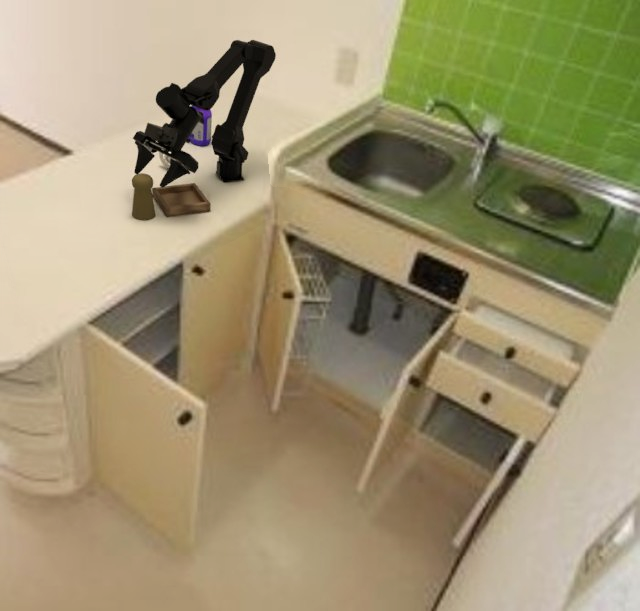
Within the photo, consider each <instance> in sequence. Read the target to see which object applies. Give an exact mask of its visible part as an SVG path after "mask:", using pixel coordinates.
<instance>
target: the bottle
mask: <svg viewBox="0 0 640 611" xmlns="http://www.w3.org/2000/svg"><path fill="white" fill-rule="evenodd" d="M190 106H191V107H194V108H195V109H196V110H197V111H199V112H202V113H203V117H204V124H201V123H199V122H198V123H197V125H196V127H195V128H194V130H193V131H192V133H191V135H190V136H189V139H190V140H191V141H190V143H191V144H194V145H197V146H200V147H202V146H203V147H204V146H208V145H209V144H210V143H211V142H212V123H213V122H212V118H213V112H212V110H211V109H210V110H208V111H207V110H202V109H200V108H197V107H195V106H192V105H190Z"/></svg>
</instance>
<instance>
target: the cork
mask: <svg viewBox="0 0 640 611" xmlns="http://www.w3.org/2000/svg"><path fill="white" fill-rule="evenodd" d="M131 178H132V179H131V185H132V188H134V189H133V200H132V206H131V208H132V210H131V216H132V218H133V219H135V220H138V221H142V222H143V221H144V222H146V221H151V220H153V219H154V218H156V216H157V214H156V208H155V204H154V198H153V196H152V188H154V187H153V186H154V180H153V177H152V176H151V175H150V174H148V173H141V172H140V173H139V174H134V175H133V176H132V177H131Z"/></svg>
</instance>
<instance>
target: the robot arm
mask: <svg viewBox="0 0 640 611" xmlns="http://www.w3.org/2000/svg"><path fill="white" fill-rule="evenodd" d="M229 46H230V47H229V48H228V49H227V50H226V51H225V52H224V54H223V55H222V56H221V57H220V58H219V59H218V60H217V62H215V64H214V65H213V66H212V67H211V68H210V69H209V70H208V71H207V72H206V73H205V74H203V75H199V76H197V77H195V78H193V79H192V80H191V81H190V82H188V83H187V85H186V86H184V87H182V88H181V87H180V86H179V84H176V83H175V82H171V83H170V84H169V86H165V87H163V88H162V89H160V90H159V91H157V94H156V96H155V102H156V105H157V106H158V107H159V108H160V109H161V110H162V111H163V112H164V113H165V114H166V116H168V118H170V119H171V121H170V122H169V123H167V122H165V123H164V124H163V125H162V126H160V125H157V124H153V123H151V122H147V123H146V126H145V129H144V131H142V130H139V131H136V132H135V134H134V135H133V136H132V139H133V140H134V144H135V145H136V148H137V157H136V162H135V165H134V175H136V174H141V172H142V171H143V170H145V168H146V166H147V165H149V163H150V162H151V161H152V160H153V159H154V158H155V157H156V155H155V153H157V152H158V153H159V152H160V153H162V154H163V156H164V155H166V156H169V157H171V158H173V159H175V160H176V161H175V160H173V159H170V164H169V165H170V167H169V169H168V168H167V171H166V172H165V173H164V176H163V177H162V178H161V181H160V183H159V187H162V188H163V187H165V186H169V184H171V183H173V182H174V181H176V180H177V179H180V178H182V177H183V176H186V175H187V174H188V175H190V174H191V173H193V174H195V173H197V171H198V170H199V161H197V160H196V158H194V157H193V156H192V155H191V154H190V153H189V152H186V151H184V150H182V149H183V147H184V146H185V144H190V143H191V140H190V139H189V136H190V135H191V133H192V131H193V130H194V128H195V127H196V125H197V123H198V122H199V123H201V124H204V117H203V113H202V112H199V111H197V110H196V109H195V108H194V107H191V106H195V107H197V108H200V109H202V110H207V111H208V110H211V109H212V108H213V107H214V106H215V104H216V103H217V101H218V100H219V98H220V92H221V89H222V87H224V85H225V84H226V83H227V82H228V81H229V80H230V79H231V77H232V76H233V75H234V74H235V72H237V70H238V69H239V68H240V67H241V66H243V69H242V70H243V72H242V74H241V78H240V81H239V83H238V86H237V89H236V92H235V93H234V94H235V95H234V96H233V100H232V103H231V105H230V108H229V111H228V113H227V117H226V118H225V119H226V120H225V121H224V122H223V123H222V124H219V123H218V124H216V126H215V128H214V131H213V134H212V135H211V141H210V143H211V146H212V150H213V153H214V155H215V156H218V160H217V161H216V170H215V175H217V176H218V178H220V180H221V181H222V182H224V183H229V182H230V183H231V182H236V181H237V182H238V181H244V180H245V177H244V176H243V164H244V163H245V162H246V161H247V159H248V156H249V153H250V152H249V151H248V150H247V149H246V147H244V142H245V136H244V129H243V128H244V125H245V122H246V119H247V117H248V114H249V111H250V108H251V106H252V103H253V100H254V98H255V94H256V91H257V89H258V87H259V84H260V81H261V79H262V78H263V77H264V76H265V75H267V74H268V73H269V72H270V70H271V68H272V66H273V64H274V63H275V61H276V58H277V57H276V56H277V54H276V51H275V49H274V46H273V45H270V44H267V43H264V42H262V41H258V40H255V39H250V41H245V40H244V41H242V40H240V39H236V40H233V41H232V42H231V44H230V45H229ZM162 149H163V150H162ZM168 152H171V153H168Z"/></svg>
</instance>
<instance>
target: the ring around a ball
mask: <svg viewBox="0 0 640 611" xmlns="http://www.w3.org/2000/svg"><path fill="white" fill-rule="evenodd" d="M162 150H163V149H162ZM168 153H171V152H168ZM158 155H159V156H158V157H159V159H160V160H159V161H160V162H161V163H162V165H163V166H164V167H165V168H167V170H168V169H169V167H170V159H173V158H171V157H169V156H166V155H164V154H162V153H160V152H158ZM173 160H175V159H173ZM175 161H176V160H175Z"/></svg>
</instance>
